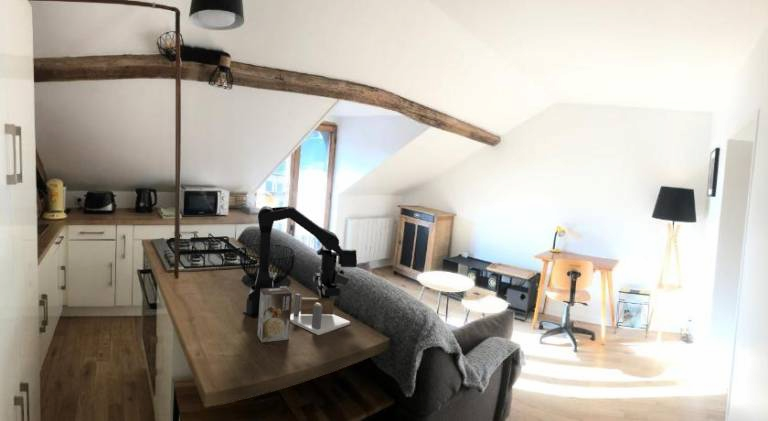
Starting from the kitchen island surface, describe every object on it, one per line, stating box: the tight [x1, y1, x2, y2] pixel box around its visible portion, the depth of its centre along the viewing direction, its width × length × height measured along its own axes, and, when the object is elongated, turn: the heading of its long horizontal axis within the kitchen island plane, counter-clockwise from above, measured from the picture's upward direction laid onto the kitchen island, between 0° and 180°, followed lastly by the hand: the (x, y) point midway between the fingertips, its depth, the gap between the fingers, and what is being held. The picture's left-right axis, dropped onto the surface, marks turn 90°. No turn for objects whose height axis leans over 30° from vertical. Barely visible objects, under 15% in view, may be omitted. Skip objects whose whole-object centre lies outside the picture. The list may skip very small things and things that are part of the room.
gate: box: [300, 297, 335, 315], centre depth 170 cm, size 2×12×6 cm, turn 106°
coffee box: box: [257, 286, 293, 343], centre depth 149 cm, size 9×6×16 cm
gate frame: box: [290, 293, 351, 336], centre depth 167 cm, size 16×18×10 cm
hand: (324, 305), depth 175 cm, fingers closed
